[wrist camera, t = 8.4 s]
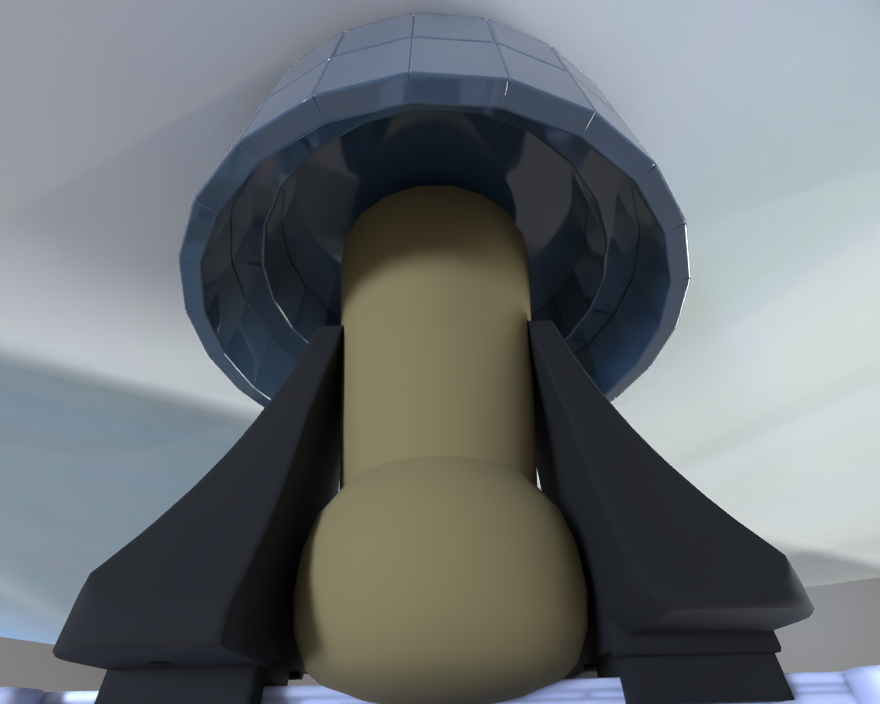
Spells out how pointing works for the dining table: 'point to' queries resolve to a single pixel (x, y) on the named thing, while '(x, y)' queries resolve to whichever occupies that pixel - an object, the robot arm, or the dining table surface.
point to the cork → (438, 473)
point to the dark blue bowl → (434, 164)
